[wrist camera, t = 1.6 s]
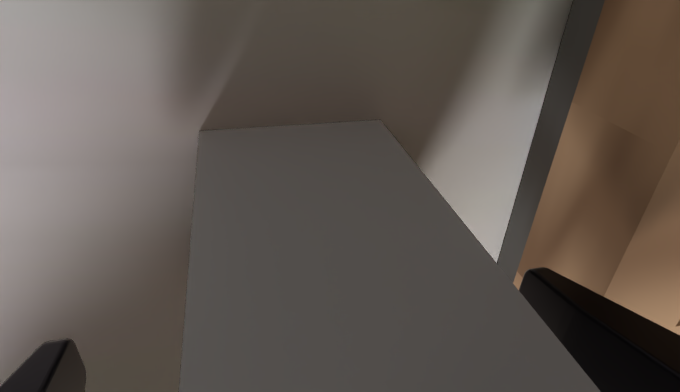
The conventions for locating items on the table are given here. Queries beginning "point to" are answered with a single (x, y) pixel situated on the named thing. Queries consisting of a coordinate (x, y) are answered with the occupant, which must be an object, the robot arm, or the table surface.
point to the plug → (347, 275)
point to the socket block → (608, 161)
